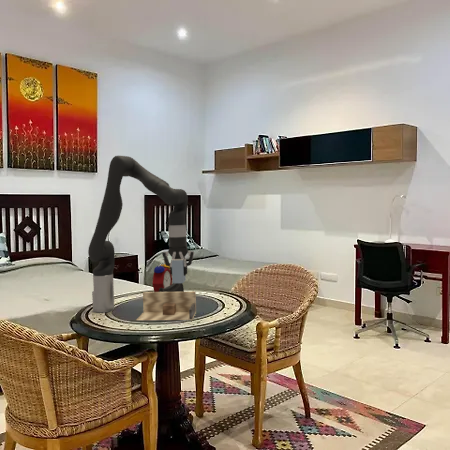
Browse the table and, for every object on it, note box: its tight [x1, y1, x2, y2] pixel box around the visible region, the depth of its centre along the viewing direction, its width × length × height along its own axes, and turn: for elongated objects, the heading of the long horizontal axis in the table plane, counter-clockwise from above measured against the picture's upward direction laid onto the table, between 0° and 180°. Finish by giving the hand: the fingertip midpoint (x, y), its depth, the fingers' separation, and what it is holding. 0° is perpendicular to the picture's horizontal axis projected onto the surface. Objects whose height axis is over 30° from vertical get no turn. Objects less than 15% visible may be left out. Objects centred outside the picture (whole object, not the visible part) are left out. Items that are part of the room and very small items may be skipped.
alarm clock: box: [150, 258, 173, 292], centre depth 247 cm, size 15×9×20 cm, turn 167°
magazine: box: [159, 282, 185, 292], centre depth 224 cm, size 17×3×30 cm
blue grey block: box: [171, 258, 187, 284], centre depth 191 cm, size 5×7×10 cm, turn 176°
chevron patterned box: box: [135, 291, 197, 323], centre depth 197 cm, size 24×15×10 cm, turn 87°
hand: (179, 275), depth 191 cm, fingers closed on blue grey block, 4 cm apart
